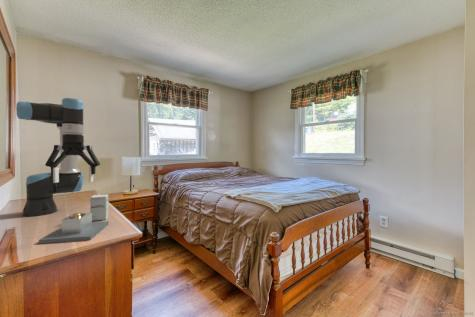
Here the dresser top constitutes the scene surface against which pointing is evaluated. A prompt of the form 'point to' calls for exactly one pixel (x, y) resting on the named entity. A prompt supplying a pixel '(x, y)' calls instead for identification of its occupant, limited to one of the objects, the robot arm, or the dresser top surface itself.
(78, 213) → the peg
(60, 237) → the board
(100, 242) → the dresser top surface
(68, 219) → the grey rectangular box
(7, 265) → the dresser top surface
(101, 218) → the supplement box
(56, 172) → the robot arm
